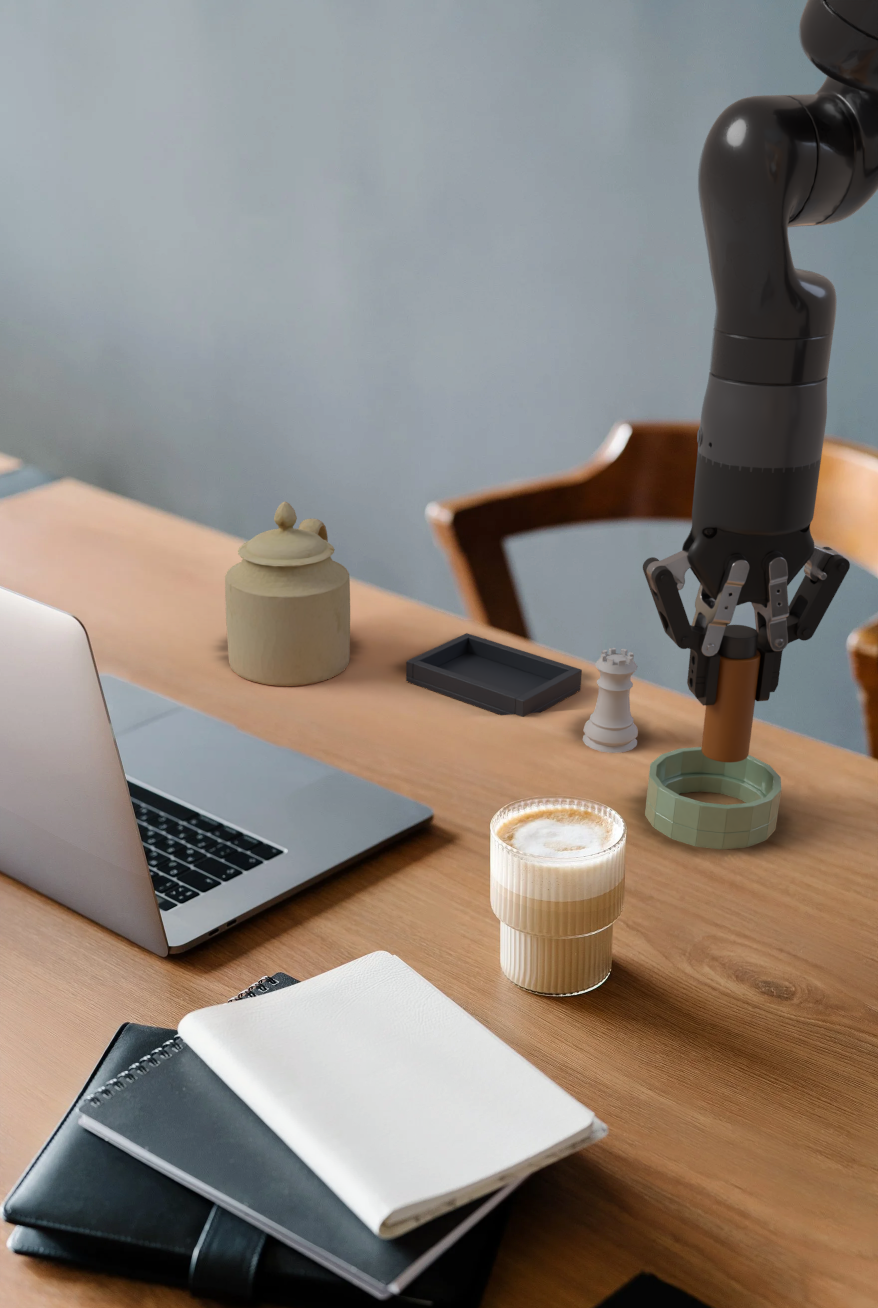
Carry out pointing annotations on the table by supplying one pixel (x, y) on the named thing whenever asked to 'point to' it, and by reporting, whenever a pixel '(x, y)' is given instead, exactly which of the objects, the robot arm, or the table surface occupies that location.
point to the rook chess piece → (613, 705)
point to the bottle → (733, 697)
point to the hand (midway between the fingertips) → (731, 697)
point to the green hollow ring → (712, 820)
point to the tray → (493, 676)
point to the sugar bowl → (288, 606)
